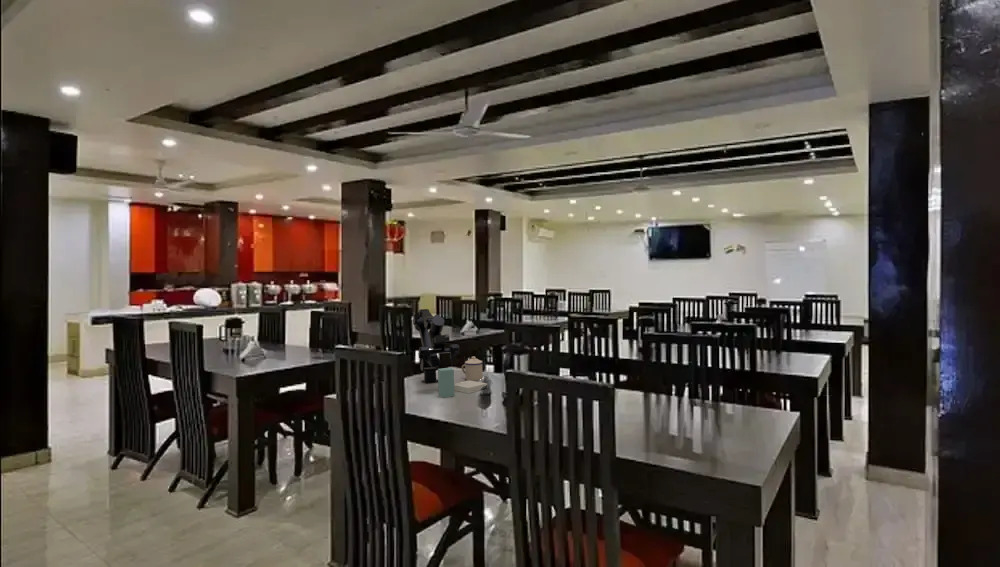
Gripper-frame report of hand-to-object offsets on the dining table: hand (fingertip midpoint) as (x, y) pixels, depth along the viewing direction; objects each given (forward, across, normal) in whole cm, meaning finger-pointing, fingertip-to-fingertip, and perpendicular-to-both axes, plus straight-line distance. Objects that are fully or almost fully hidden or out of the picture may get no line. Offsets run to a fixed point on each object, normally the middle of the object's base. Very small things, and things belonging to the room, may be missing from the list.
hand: (442, 366), depth 271 cm
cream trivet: (+7, +13, +10) cm, 18 cm away
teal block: (+13, 0, +4) cm, 14 cm away
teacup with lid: (-8, +21, +26) cm, 34 cm away
